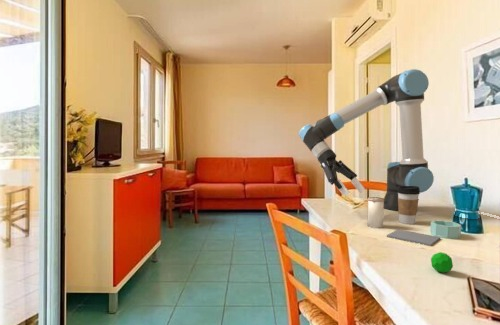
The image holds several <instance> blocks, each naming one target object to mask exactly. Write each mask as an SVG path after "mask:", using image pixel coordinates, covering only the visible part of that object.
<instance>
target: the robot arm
mask: <svg viewBox="0 0 500 325" xmlns="http://www.w3.org/2000/svg"><path fill="white" fill-rule="evenodd" d="M429 82H430V81H429V78H428V76H427V74H426V73H425V72H424V71H422V70H421V69H418V68H417V69H416V68H415V69H413V68H412V69H409V70H404V71H402V72H401V73H399V74H396V75H394V76H392V77H390V78H389V79H388V80H386V81H385V82H384V83H382V84H380V85H379V86H377V87H375V88H374V90H373V91H371V92H370V93H368V94H366V95H364V96H362V97H361V98H358V99H356V100H355V101H353V102H351V103H349V104H347V105H345V106H344V107H342V108H340V109H338V110H336V111H334V112H332V113H330V114H329V115H327V116H324V117H323V118H320V119H319V120H316V122H315V123H314V125H312V124H306V125H304V126H302V128H300V130H299V132H298V135H299V138H300V139H301V140H302V142H303V143H304V145H305V146H306V147H307V149H309V151H310V152H311V153H312V155H313V157H315V159H316V160H317V161H318V163H320V167H321V168H322V169H323V172H324V174H325V176H326V178H327V182H328V183H330V185H332V186H333V185H334V186H335V187H336V189H338V191H339V192H340V194H342V196H343V197H346V196H348V195H349V194H350V191H349V190H348V188H347V187H346V186H345V184H344V183H343V182H342V181H341V179H339V178H338V174H341V175H343V177H346V178H347V179H349V180H350V182H351V184H352V185H353V186H354V188H355V189H356V190H357V191H358V192H359V194H362V193H363V192H364V191H365V190H366V188H365V187H364V185H363V184H362V183H361V182H360V181H359V180H358V178H357V177H358V174H357V173H355V172H354V171H353V170H352V169H351V168H349V167H348V166H347V165H346V164H345V163H344V162H343V161H342V160H339V161H338V160H337V159H336V158H337V154H336V152H334V150H333V149H331V148H332V147H330V145H329V144H328V143H327V142H326V141H325V140H327V138H329V137H330V136H332V135H334V134H335V133H336V132H338V131H340V130H341V129H342V128H344V126H345V125H346V124H348V123H350V122H352V121H354V120H355V119H357V118H360V117H362V116H363V115H365V114H367V113H369V112H371V111H373V110H374V109H377V108H378V107H380V106H387V105H388V104H390V103H394V102H395V104H396V105H397V106H398V107H399V126H400V139H401V140H400V142H401V154H402V155H401V157H402V159H401V160H400V161H392V162H389V163H388V164H387V167H386V192H385V195H384V208H383V209H386V210H390V211H398V212H399V209H398V192H397V190H398V187H400V186H418V187H419V190H420V194H421V193H425V192H426V191H428V190H429V189H430V188H431V187H432V186H433V183H434V181H435V180H434V178H435V176H434V173H433V172H432V171H431V170H430V169H429V164H428V160H427V159H425V158H424V142H423V126H422V124H423V123H422V110H421V109H422V105H421V104H423V102H424V101H425V93H426V91H427V90H428V89H429V88H428V87H429V86H430V85H429ZM337 173H338V174H337Z"/></svg>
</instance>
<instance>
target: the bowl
mask: <svg viewBox="0 0 500 325" xmlns="http://www.w3.org/2000/svg"><path fill="white" fill-rule="evenodd" d="M429 232H430V235H431V236H437V237H440V239H441V238H442V239H446V240H447V239H448V240H457V239H461V235H462V224H461V223H460V224H459V223H457V222H456V221H448V220H440V219H439V220H436V219H435V220H432V221H431V222H430V231H429Z"/></svg>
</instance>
